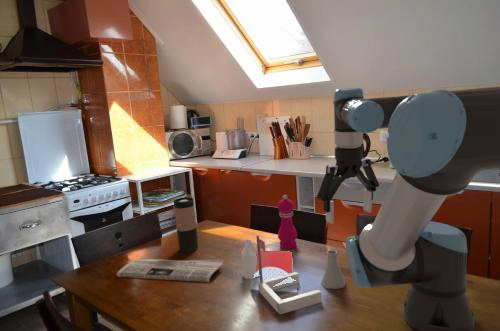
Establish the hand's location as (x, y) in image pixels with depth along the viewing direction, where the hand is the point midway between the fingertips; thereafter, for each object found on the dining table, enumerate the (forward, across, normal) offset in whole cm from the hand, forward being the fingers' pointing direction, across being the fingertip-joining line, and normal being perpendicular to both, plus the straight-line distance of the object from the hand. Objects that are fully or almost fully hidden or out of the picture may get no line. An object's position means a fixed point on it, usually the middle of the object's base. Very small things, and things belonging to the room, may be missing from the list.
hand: (349, 216), depth 109 cm
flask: (+20, +7, +1) cm, 21 cm away
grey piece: (+21, +25, -18) cm, 37 cm away
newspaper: (+22, +47, -36) cm, 63 cm away
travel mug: (+24, +36, -52) cm, 68 cm away
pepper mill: (+23, +3, -31) cm, 39 cm away
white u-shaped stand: (+19, +21, +1) cm, 28 cm away
